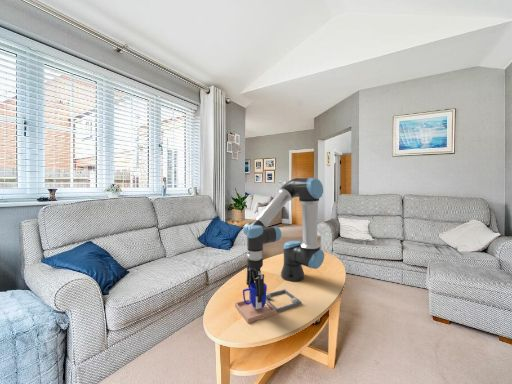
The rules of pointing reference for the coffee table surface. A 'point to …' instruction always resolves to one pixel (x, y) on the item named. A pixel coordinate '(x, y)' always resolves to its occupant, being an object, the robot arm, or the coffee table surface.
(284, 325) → the coffee table surface
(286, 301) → the coffee table surface
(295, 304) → the slate bin
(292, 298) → the pebble
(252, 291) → the mug
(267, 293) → the pebble
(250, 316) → the terracotta dish
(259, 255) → the robot arm
